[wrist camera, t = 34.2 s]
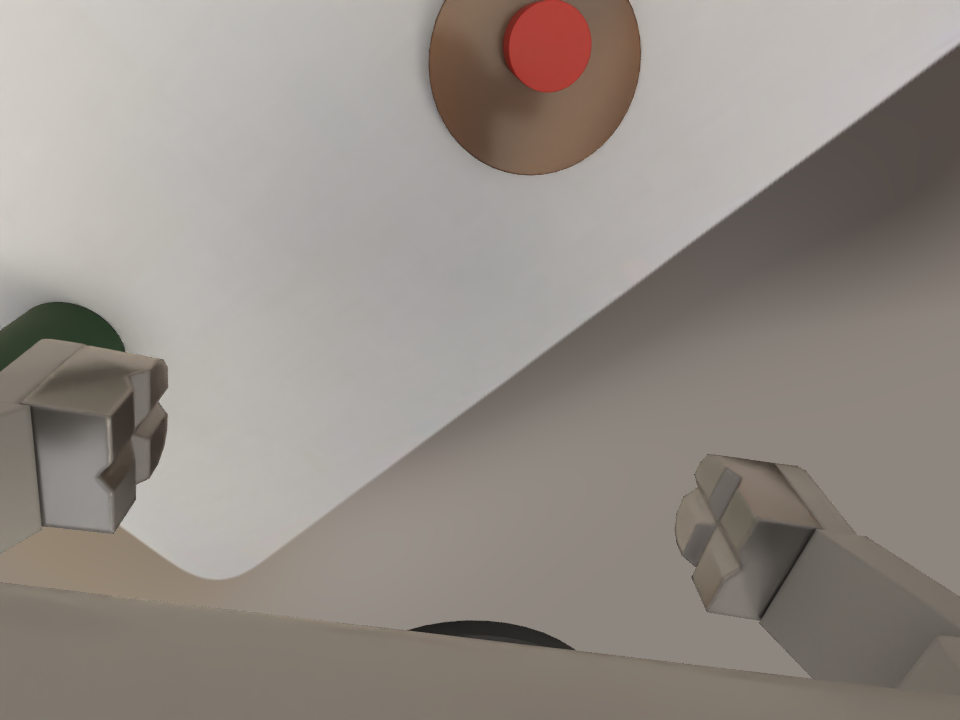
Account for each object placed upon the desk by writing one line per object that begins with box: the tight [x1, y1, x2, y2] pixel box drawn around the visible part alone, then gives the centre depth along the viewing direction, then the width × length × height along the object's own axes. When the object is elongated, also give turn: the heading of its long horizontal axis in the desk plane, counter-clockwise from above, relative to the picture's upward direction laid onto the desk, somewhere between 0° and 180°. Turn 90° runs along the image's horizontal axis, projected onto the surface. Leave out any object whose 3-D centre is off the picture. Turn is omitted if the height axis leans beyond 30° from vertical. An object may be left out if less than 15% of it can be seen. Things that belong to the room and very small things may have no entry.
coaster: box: [429, 0, 641, 175], centre depth 34 cm, size 11×11×1 cm
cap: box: [503, 0, 592, 92], centre depth 32 cm, size 4×4×3 cm
